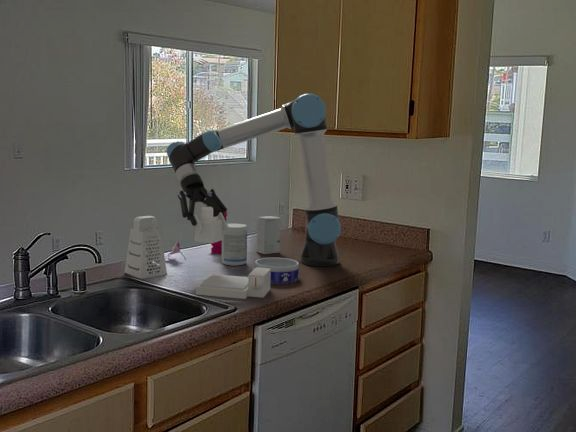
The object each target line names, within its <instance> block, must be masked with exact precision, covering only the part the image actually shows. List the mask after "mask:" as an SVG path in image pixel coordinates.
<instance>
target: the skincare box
mask: <svg viewBox="0 0 576 432" xmlns="http://www.w3.org/2000/svg"><path fill="white" fill-rule="evenodd" d="M281 222H282V217H279V216H276V215H275V216H274V215H273V216H272V215H270V216H269V215H267V216H257V226H256V227H257V229H256V252H257V253H260V254H262V255H269V254H277V253H280V251H281V250H280V249H281V248H280V246H281V224H282V223H281Z"/></svg>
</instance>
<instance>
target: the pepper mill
mask: <svg viewBox="0 0 576 432" xmlns="http://www.w3.org/2000/svg"><path fill="white" fill-rule="evenodd" d="M224 215H225V217H226V218H227V217H228V210H227V211H226V212H225V214H224ZM210 245H211V246H212V247H211V248H210V251H211V253H212V254H216V255H218V254H219V255H222V240H221V241H218V242H215V243H210Z"/></svg>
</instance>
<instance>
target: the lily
mask: <svg viewBox="0 0 576 432" xmlns="http://www.w3.org/2000/svg"><path fill="white" fill-rule="evenodd" d="M183 238H184V235H183V236H182V235H181V236H180V238H179V239H178V240H177V242H176V243H175V244H174V245H170V248H172V249H171V252H169V253H168V256H165V260H166V259H167V258H168V257H170V256H171V255H174V254H178V253H180V254H181V256H183V258H184V260H185V261H187V258H186V257H185V255H184V254H183V252H181V249H180V248H181V245H180V244H181V241H182V240H183Z"/></svg>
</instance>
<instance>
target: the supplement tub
mask: <svg viewBox="0 0 576 432" xmlns="http://www.w3.org/2000/svg"><path fill="white" fill-rule="evenodd" d="M227 225H228V227H229V228H228V229H227V231H226V232H222V254H221V263H222V264H224V265H227V266H234V267H236V266H243V265H245V264H246V263H247V261H248V258H247V257H248V228H247V227H248V226H247V224H244V223H243V224H242V223H227Z"/></svg>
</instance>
